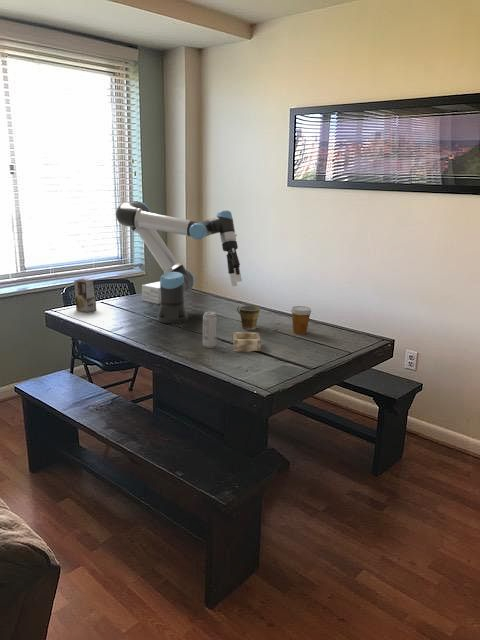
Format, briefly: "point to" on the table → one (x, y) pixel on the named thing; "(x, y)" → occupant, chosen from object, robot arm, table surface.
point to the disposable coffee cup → (300, 319)
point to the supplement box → (151, 292)
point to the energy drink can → (209, 329)
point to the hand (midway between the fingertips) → (236, 283)
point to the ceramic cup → (249, 316)
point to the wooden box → (246, 341)
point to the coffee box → (85, 295)
